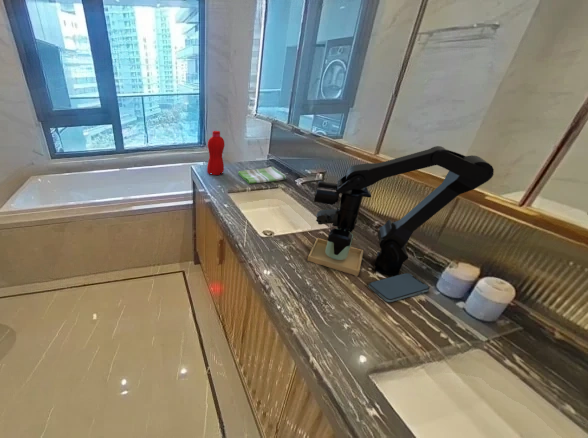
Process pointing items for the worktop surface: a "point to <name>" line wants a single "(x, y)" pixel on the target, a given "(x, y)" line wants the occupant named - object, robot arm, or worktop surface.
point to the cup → (341, 255)
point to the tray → (346, 265)
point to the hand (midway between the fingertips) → (337, 249)
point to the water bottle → (215, 154)
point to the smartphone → (398, 287)
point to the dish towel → (262, 175)
